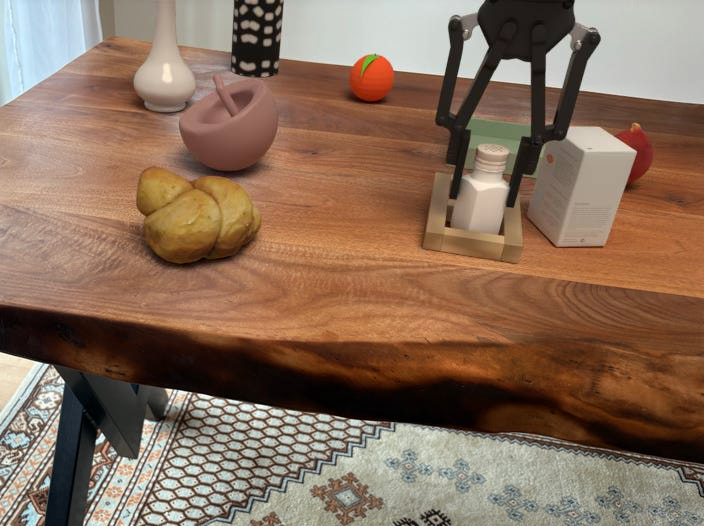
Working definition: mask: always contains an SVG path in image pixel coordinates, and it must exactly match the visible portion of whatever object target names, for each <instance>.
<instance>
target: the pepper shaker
mask: <svg viewBox="0 0 704 526" xmlns="http://www.w3.org/2000/svg"><path fill="white" fill-rule="evenodd" d="M475 154H476V155H475V159H474V162H473V170H472V171H471V172H470V173H466V174H463V175H462V176H463V177H462V178H461V183H460V187H459V191H458V196H457V200H455V205H454V209H453V213H452V218H451V222H449V226H450V227H449V228H455V229H461V230H468V231H474V232H481V233H487V234H494V235H499V234H500V231H499V230H500V226H501V222H502V218H503V215H504V211H505V207H506V203H507V199H508V195H509V192H510V186H509V185H508V183H507V182H508V181H506V180H505V179H504V178H503V176H504V174H503V173H504V170H505V169H506V165H507V161H508V157H509V154H510V151H509V149H508V148H506V147H504V146H501V145H496V144H481V145H479V146H478V147H477V149H476V153H475Z"/></svg>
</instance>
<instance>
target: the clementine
mask: <svg viewBox="0 0 704 526" xmlns="http://www.w3.org/2000/svg"><path fill="white" fill-rule="evenodd" d="M394 82H395V70H394V67H393V65H392V63H391V62H390V60H388V59H387V58H386V57H385V56H383V55H381V54H377V53H374V54H365V55H364V56H361V57H360V58H359V59H358V60H357V61H356V62H355V63H353V66H352V68H351V70H350V73H349V86H350V89H351V91H352V93H353V94H354V95H355V96H356V97H357V98H358V99H360V100H362V101H365V102H375V101H379V100H381V99H383V98H385V97H386V96H387V94H388V93H389V92H390V91H391V90H392V88H393V85H394Z"/></svg>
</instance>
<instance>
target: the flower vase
mask: <svg viewBox="0 0 704 526" xmlns="http://www.w3.org/2000/svg"><path fill="white" fill-rule="evenodd" d="M153 1H154V3H153V4H154V5H153V8H154V11H153V12H154V14H153V34H152V35H153V36H152V43H151V47H150V50H149V53H148V55H147V58H146V59H145V61H143V63H142V64H141V65H140V66H139V67H138V69H136V72H135V73H134V77H133V82H132V83H133V89H134V91H135V93H136V94H137V95H138V97H139V98H141V99H142V100H143V101H144V102H143V103H144V107H145V108H146V109H147V110H149V111H152V112H156V113H177V112H180V111H183V110H184V109H185V108H186V106H187V104H186V102H187V101H189V100H190V99H191V98H192V97H193V95H194V94H195V92H196V90H197V86H198V85H197V84H198V83H197V80H196V75H195V74H194V71H193V70H192V69H191V68H190V66H189V65H188V64H187V63H186V62H185V60H184V59H183V56H182V54H181V51H180V48H179V45H178V37H177V15H176V12H177V11H176V10H177V9H176V8H177V7H176V3H177V2H176V1H177V0H153Z"/></svg>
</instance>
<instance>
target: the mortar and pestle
mask: <svg viewBox="0 0 704 526" xmlns="http://www.w3.org/2000/svg"><path fill="white" fill-rule="evenodd" d="M212 80H213V84H214V86H215V90H214V91H212V92H210V93H208V94H206V95H204V96H203V97H201V98H199V100H197V101H196V102H194V103H193V104H192V105H191V106H190V107H189V108H187V109H186V111H184V112H183V113H182V115H181V116H180V118H179V119H178V129H179V133H180V136H181V139H182V141H183V144H184V146H185V147H186V149H187V151H188V152H189V153H190V154H191V155H192V156H193V158H195V159H196V160H197V161H198V162H199V163H201V164H202V165H203V166H206V167H207V168H210V169H213V170H217V171H220V172H237V171H241V170H244V169H247V168H249V167H251V166H252V165H254V164H256V163H257V162H259V161H260V160H261V159H262V158H264V156H265V155H267V153H268V151H269V150H270V148H271V147H272V145H273V143H274V141H275V138H276V135H277V133H278V129H279V128H278V127H279V109H278V105H277V102H276V99H275V97H274V94H273V93H272V90H271V89H270V88H269V86H268V85H267V83H265V81H264V80H263V79H258V77H253V78H247V79H243V80H239V81H236V82H232V83H230V84H228V85H225V83H224V80H223V78H222V75H221V74H220V73H219V72H218V73H213V75H212Z"/></svg>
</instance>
